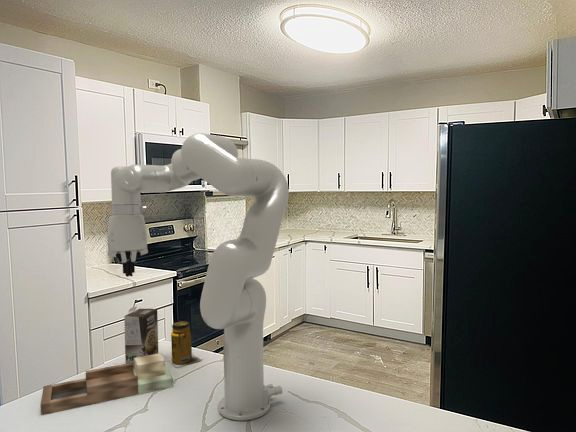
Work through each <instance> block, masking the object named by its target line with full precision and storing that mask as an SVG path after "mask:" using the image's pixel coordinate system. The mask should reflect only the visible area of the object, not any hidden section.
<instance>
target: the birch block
mask: <svg viewBox="0 0 576 432" xmlns="http://www.w3.org/2000/svg"><path fill="white" fill-rule="evenodd" d="M158 353H159V354H153V355H148V356H142V357H136V358H134V361H135V373H136V375H137V376H138V380H141V379H146V378H151V377H156V376H161V375H165V365H164V364H165V359H164V357H163V356H162V354H161V352H158Z"/></svg>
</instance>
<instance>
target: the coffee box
mask: <svg viewBox="0 0 576 432" xmlns="http://www.w3.org/2000/svg"><path fill="white" fill-rule="evenodd" d="M123 318H124V321H123V323H124V359H125V361H124V362H125V363H124V364H127V363H133V369H135V361H134V358H136V357H142V356H148V355H153V354H159V353H160V352H159V323H158V308H138V309H136V310H134V311H132V312H130V313H128V314H126V315H124V317H123Z"/></svg>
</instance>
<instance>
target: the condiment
mask: <svg viewBox="0 0 576 432" xmlns="http://www.w3.org/2000/svg"><path fill="white" fill-rule="evenodd" d="M171 328H172V329H171V330H172V332H171V334H170V336H171V337H170V339H171V340H170V341H171V342H170V343H171V359H167V362H169V363H170V364H171V365H173V366H174V367H176V368H180V367H185V366H187V365H191V364H194V363H198V362H200V361H202V359H201V358H199V357H198V356H196V355H195V354H194V353H193V352H192V351H193V349H192V346H193V345H192V332H191V325H190V322H188V321H185V320H184V321H177V322H174V323H172V325H171Z"/></svg>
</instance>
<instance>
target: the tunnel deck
mask: <svg viewBox="0 0 576 432" xmlns="http://www.w3.org/2000/svg"><path fill="white" fill-rule="evenodd" d="M164 365H165V375H161V376H156V377H151V378H146V379H141V380H138V376H137V375H136V373H135V369H133V363H127V364H125V363H122V364H117V365H113V366H105V367H100V368H95V369H89V370H85V377H84V378H81V379H74V380H70V381H63V382H60V383H59V382H58V383H54V384H47V385H44V386H43V388H42V392H41V393H42V394H41V402H40V415H41V416H44V415H47V414H53V413H56V412H57V413H58V412H61V411H66V410H71V409H76V408H80V407H81V408H82V407H85V406H89V405H90V406H92V405H94V404H95V405H96V404H99V403H104V402H109V401H113V400H118V399H119V400H120V399H122V398H123V399H124V398H127V397H133V396H136V395H137V396H138V395H142V394H146V393H152V392H156V391H161V390H165V389H170V388H174V377H173V375H172V373H171V372H170V370H169V368H168V366H167V364H166V363H164Z"/></svg>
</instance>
